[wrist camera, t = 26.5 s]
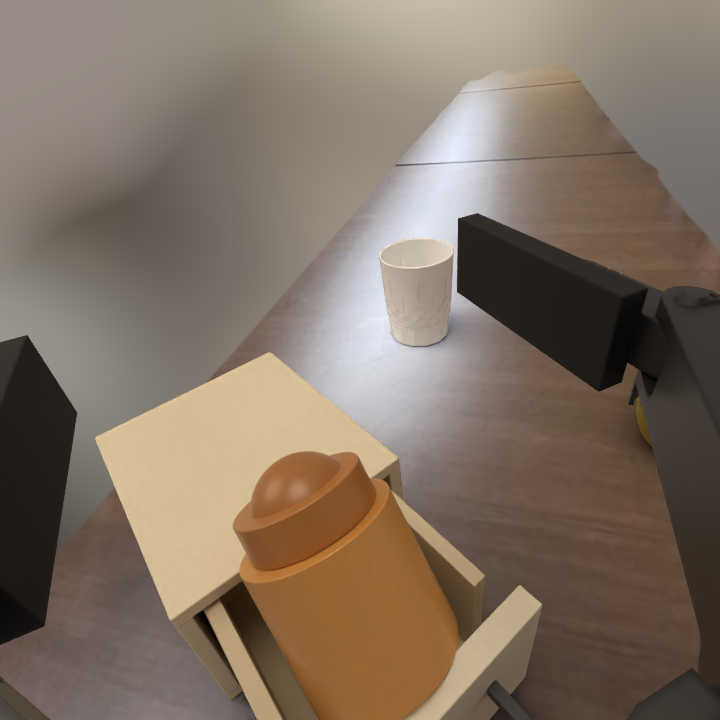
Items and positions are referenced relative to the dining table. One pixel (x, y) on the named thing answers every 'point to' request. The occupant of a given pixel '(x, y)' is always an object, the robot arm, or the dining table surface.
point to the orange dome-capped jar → (345, 588)
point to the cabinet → (220, 482)
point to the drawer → (463, 679)
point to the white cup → (418, 289)
